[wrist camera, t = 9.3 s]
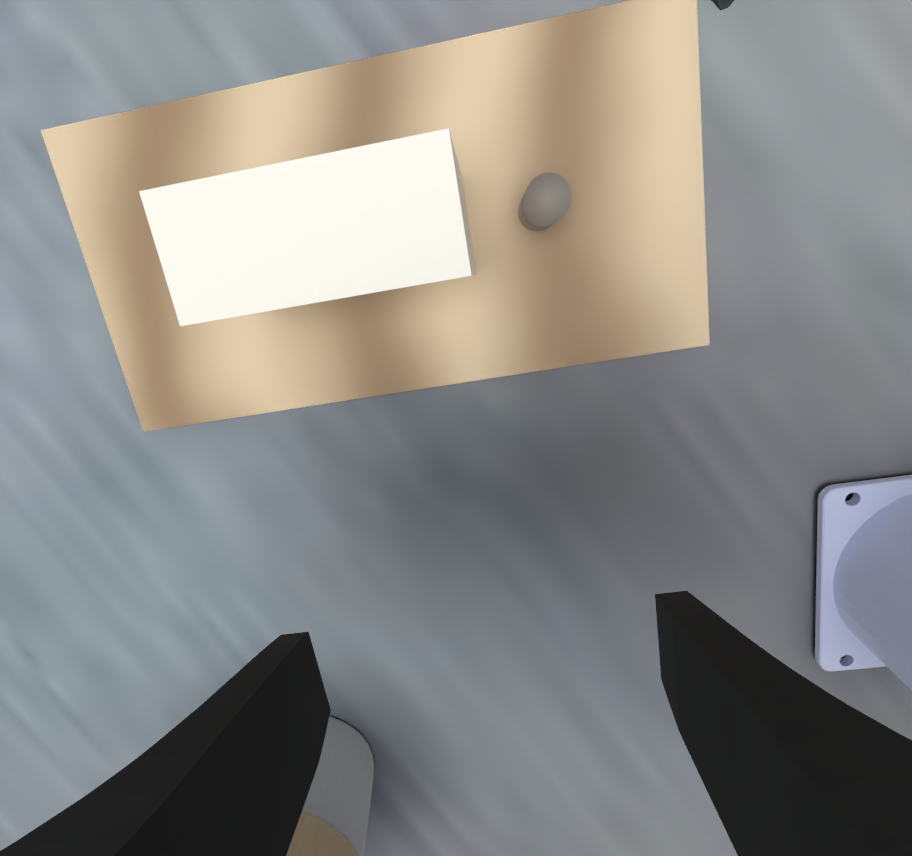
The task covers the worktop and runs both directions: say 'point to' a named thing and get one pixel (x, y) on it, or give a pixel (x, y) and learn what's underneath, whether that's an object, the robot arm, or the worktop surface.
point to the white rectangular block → (313, 229)
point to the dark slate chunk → (722, 3)
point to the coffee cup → (337, 797)
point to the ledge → (487, 201)
